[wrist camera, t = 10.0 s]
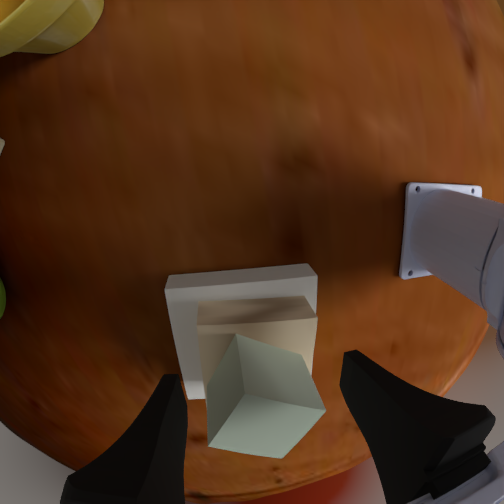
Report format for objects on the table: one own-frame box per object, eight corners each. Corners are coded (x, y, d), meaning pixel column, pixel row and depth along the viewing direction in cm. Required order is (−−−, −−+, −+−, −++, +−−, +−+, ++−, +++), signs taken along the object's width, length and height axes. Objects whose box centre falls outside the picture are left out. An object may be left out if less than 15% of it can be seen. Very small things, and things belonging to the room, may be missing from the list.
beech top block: (304, 295, 20) (317, 317, 17) (296, 374, 22) (306, 400, 20) (198, 301, 19) (196, 325, 17) (206, 381, 22) (206, 408, 19)
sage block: (301, 354, 18) (326, 410, 13) (268, 402, 19) (282, 458, 14) (236, 333, 17) (245, 393, 12) (206, 385, 18) (208, 446, 13)
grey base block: (305, 260, 23) (317, 275, 20) (301, 364, 26) (310, 385, 23) (170, 271, 22) (164, 289, 19) (189, 375, 25) (188, 399, 22)
